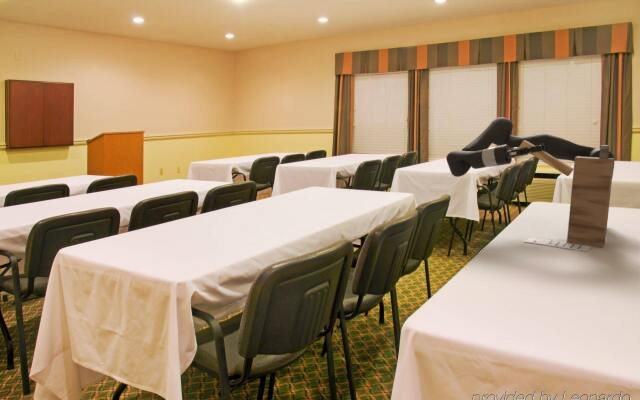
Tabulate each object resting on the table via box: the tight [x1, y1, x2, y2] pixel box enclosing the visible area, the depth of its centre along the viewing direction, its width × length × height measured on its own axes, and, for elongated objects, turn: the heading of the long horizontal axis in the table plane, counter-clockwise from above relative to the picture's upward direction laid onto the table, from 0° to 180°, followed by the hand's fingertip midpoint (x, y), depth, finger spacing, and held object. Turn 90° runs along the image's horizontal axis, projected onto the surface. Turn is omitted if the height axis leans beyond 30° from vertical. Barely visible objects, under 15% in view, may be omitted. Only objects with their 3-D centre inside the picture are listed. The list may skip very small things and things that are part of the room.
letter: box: [524, 237, 592, 253], centre depth 189 cm, size 8×21×1 cm, turn 53°
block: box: [519, 140, 574, 177], centre depth 189 cm, size 3×20×3 cm
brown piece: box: [566, 144, 615, 249], centre depth 188 cm, size 6×12×37 cm, turn 53°
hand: (542, 147), depth 189 cm, fingers closed on block, 2 cm apart
